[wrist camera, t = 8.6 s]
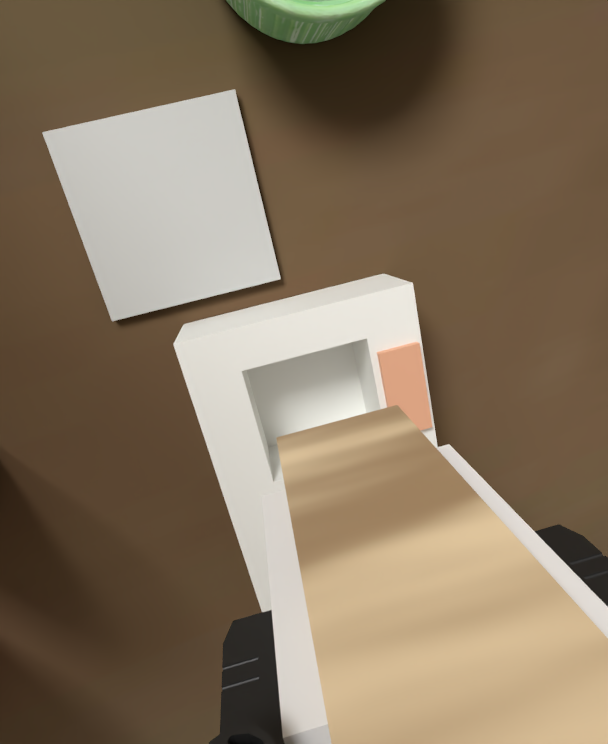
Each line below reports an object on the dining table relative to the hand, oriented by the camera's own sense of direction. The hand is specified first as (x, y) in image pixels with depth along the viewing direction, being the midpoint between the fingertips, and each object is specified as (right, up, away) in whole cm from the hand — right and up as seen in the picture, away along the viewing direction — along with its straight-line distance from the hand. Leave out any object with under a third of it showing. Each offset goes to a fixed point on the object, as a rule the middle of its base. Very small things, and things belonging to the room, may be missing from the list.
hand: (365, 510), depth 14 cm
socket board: (-1, -1, +12) cm, 12 cm away
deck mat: (-8, +11, +7) cm, 15 cm away
